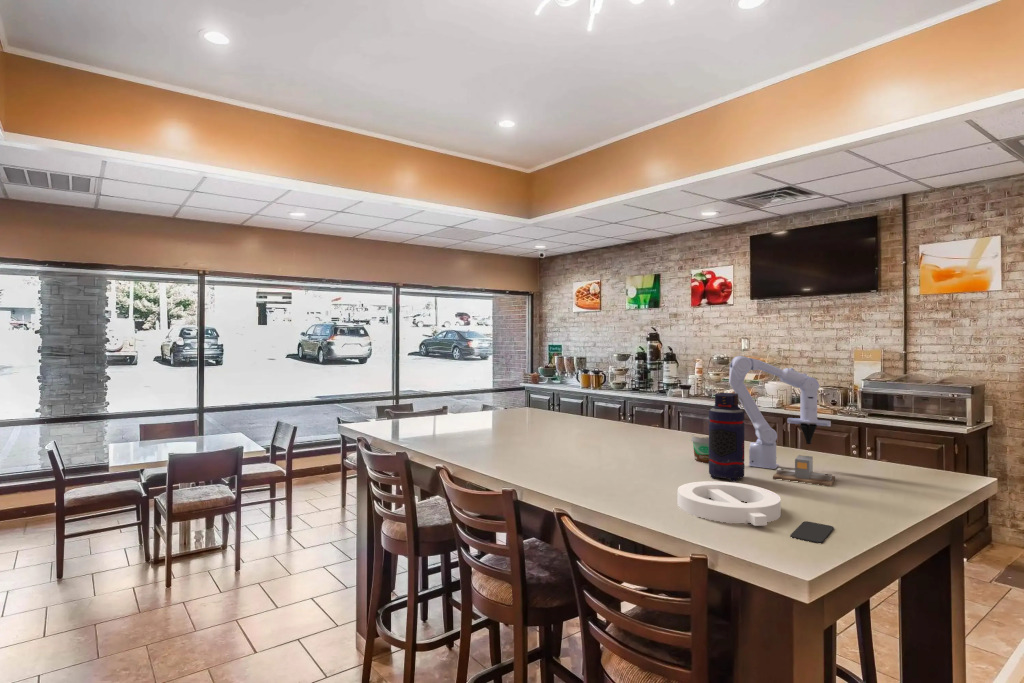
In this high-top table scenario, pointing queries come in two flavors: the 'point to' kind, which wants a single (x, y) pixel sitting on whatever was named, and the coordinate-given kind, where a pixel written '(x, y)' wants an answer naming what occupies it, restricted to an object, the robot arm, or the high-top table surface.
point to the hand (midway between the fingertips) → (808, 443)
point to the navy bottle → (726, 437)
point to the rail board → (814, 479)
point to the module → (803, 466)
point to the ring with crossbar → (729, 502)
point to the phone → (812, 532)
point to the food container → (701, 449)
